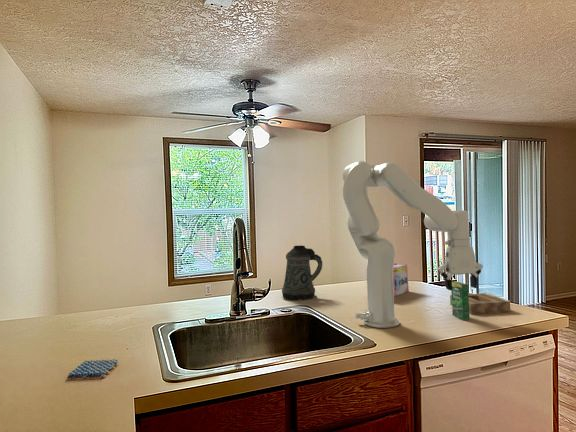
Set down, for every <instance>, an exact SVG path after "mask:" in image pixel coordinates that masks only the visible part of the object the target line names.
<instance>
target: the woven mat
mask: <svg viewBox="0 0 576 432" xmlns="http://www.w3.org/2000/svg"><path fill="white" fill-rule="evenodd" d="M118 365H119V360H118V359H116V358H115V359H107V360H104V359H102V360H98V359H97V360H93V359H92V360H84V361H83V362H82V363H80V365H79V364H78V366H77V367H76V368H74V370H72V371H71V372H69V373H68V375H67V377H66V380H68V381H71V380H72V381H73V380H91V379H92V380H93V379H95V380H96V379H105V378H106V377H107V376H108V375H110V374H111V372H113V371H114V369H116V367H117V366H118Z"/></svg>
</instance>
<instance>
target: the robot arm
mask: <svg viewBox="0 0 576 432" xmlns="http://www.w3.org/2000/svg"><path fill="white" fill-rule="evenodd" d="M341 177H342V179H343V187H342V197H343V202H344V204H345V206H346V209H347V211H348V213H349V217H348V218H347V228H348V231H349V233H350V236H351V238H352V239H353V243H354V244H355V246H356V248H357V250H358V253H359V254H360V256H361V257H362V258H363V259H365V260H367V267H366V290H367V293H366V294H367V295H366V296H367V309H365V311H363V312H357V313H355V314H354V317H355V319H356V320H357V319H360V320H363V323H364V324H365V325H366V326H367V327H368V326H369V327H372V328H380V329H389V328H394V327H397V326H399V325H400V319H398V318H397V317H396V316H395V296H394V283H393V265H394V264H395V263H394V262H395V258H396V257H395V256H396V255H395V254H396V251H395V248H394V245H393V243H392V241H390V240H389V239H387V238H385V237H382V236H379V235H378V233H379V230H380V226H381V224H380V220H379V217H378V216H377V214H376V212H375V210H374V207H373V204H371V201H370V199H369V196H368V193H367V191H368V189H367V188H368V187H369V188H370V187H371V188H375V187H377V188H378V187H386V188H387V189H388V190H389V191H390V192H391V193H392V194H393V195H394V196H395V197H396V198H397V199H398V200H399V201H400V202H401V203H402V204H404V205H405V206H407V207H409V208H412V209H413V210H417V211H419V212H420V213H423V214H424V215H425V216H424V219H423V224H424V226H425V227H426V229H428V230H430V231H431V232H442V233H443V232H444V233H447V240H446V241H444V245H445V246H448V247H446V250H445V263H443V264H442V265H440V266H439V267H437V271H438V272H439V275H440V276H441V277H442V278H443V279H444V287H445V288H446V290H448V291H451V290H452V282H453V280H452V279H451V278H452V277H453V275H467V274H468V275H469V274H470V276H469V280H470V281H469V283H470V287H471V288H473V289H478V277H479V275H480V274H481V272H482V270H483V267H484V265H483V264H482V263H479V262H477V261H476V254H475V251H474V247H473V246H472V245H471V242H470V241H471V240H470V239H471V238H470V237H471V236H470V222H469V220H470V219H469V213H468V211H467V210H463V209H461V210H459V209H457V210H452V209H451V208H450V207H449V206H448V205H447V204H446V203H445V202H444V201H443V200H442V199H439V198H438V197H437V196H435V195H434V194H432V193H430V192H429V191H428V190H426V189H424V188H423V187H421V186H420V185H419V184H418V183H417V182H416V181H415V180H414V179H413V178H412V177H411V176H410V175H409V174H408V173H407V172H406V171H404V169H403V168H401V166H400V165H399V164H397V163H396V162H392V161H388V162H384V163H381V164H370V163H369V162H367V161H365V160H360V161H356V162H353V163H351V164H349V165H347V166H346V167H345V168H344V169H343V170H342V176H341ZM444 270H445V271H446V272H444Z"/></svg>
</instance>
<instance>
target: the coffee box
mask: <svg viewBox="0 0 576 432" xmlns="http://www.w3.org/2000/svg"><path fill="white" fill-rule="evenodd" d="M450 291H451V295H452V305H451V306H452V311H451V312H452V316H454V317H457V318H458V319H460V320H462V321H469V320H470V314H469V294H470V293H469V284H468V283H462V282H460V281H452V290H450Z"/></svg>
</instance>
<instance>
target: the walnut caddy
mask: <svg viewBox="0 0 576 432" xmlns="http://www.w3.org/2000/svg"><path fill="white" fill-rule="evenodd" d="M449 303H450V305H451V306H452V294H450V295H449ZM510 312H511V300H509V299H506V298H503V297H501V296H497V295H494V294H491V293H489V292H481V293H469V315H483V314H484V315H485V314H498V313H510Z"/></svg>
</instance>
